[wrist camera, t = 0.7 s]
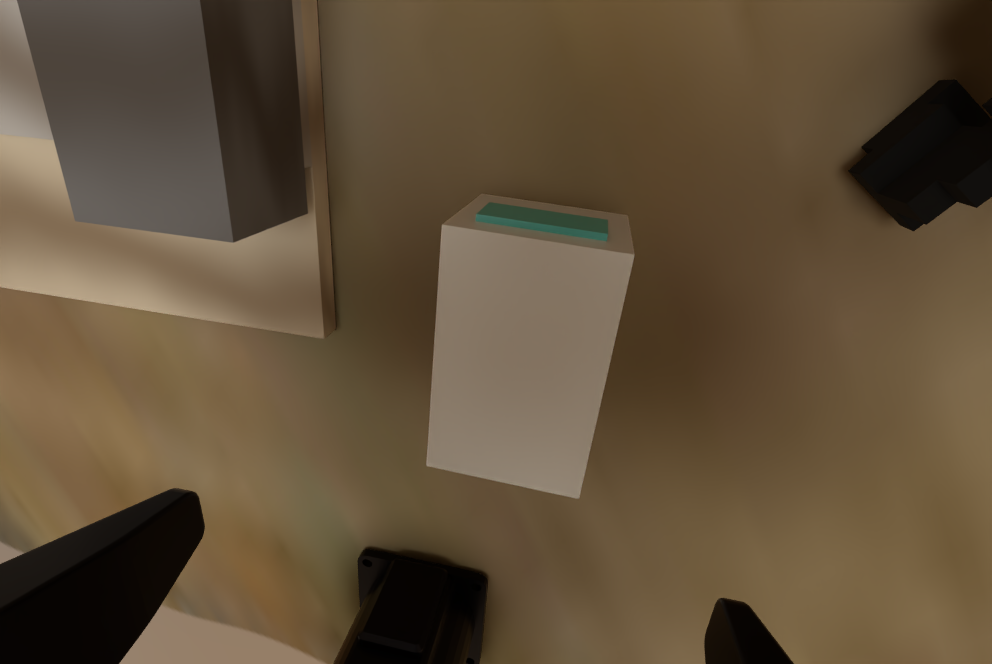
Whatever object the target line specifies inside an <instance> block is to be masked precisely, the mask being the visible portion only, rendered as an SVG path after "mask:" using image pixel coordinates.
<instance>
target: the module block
mask: <svg viewBox="0 0 992 664" xmlns="http://www.w3.org/2000/svg"><path fill="white" fill-rule="evenodd" d="M634 256H635V253H634V248H633V242H632V236H631V230H630V225H629V219H628V215H624V214H617V213H611V212H604V211H597V210H590V209H584V208H577V207H570V206H563V205H556V204H550V203H543V202H536V201H529V200H523V199H516V198H509V197H502V196H495V195H489V194H482V193H481V194H480V195H479V196H478V197H476V198H475V199H474V200H473V201H471V202H470V203H469V204H467V205H466V206H465V207H464V208H462V209H461V210H460V211H458V212H457V213H456V214H455V215H453V216H452V217H451V218H450V219H448V220H447V221H446V222H444V223H443V224H442V230H441V245H440V261H439V276H438V292H437V308H436V323H435V339H434V354H433V370H432V385H431V401H430V417H429V432H428V448H427V463H426V466H429V467H434V468H438V469H443V470H447V471H452V472H457V473H461V474H466V475H470V476H475V477H480V478H484V479H489V480H493V481H498V482H503V483H507V484H512V485H516V486H521V487H526V488H530V489H535V490H539V491H544V492H549V493H553V494H558V495H562V496H567V497H572V498H576V499H579V496H580V492H581V488H582V483H583V479H584V474H585V470H586V466H587V461H588V457H589V453H590V448H591V444H592V439H593V435H594V431H595V426H596V422H597V418H598V413H599V409H600V404H601V400H602V396H603V391H604V387H605V383H606V378H607V374H608V369H609V365H610V361H611V356H612V352H613V348H614V343H615V339H616V334H617V330H618V326H619V321H620V317H621V313H622V308H623V304H624V299H625V295H626V291H627V286H628V282H629V278H630V273H631V269H632V264H633V260H634Z"/></svg>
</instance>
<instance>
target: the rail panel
mask: <svg viewBox="0 0 992 664" xmlns="http://www.w3.org/2000/svg"><path fill="white" fill-rule="evenodd" d="M0 287H3V288H9V289H15V290H22V291H28V292H34V293H40V294H47V295H53V296H59V297H65V298H72V299H78V300H84V301H90V302H97V303H103V304H109V305H115V306H122V307H128V308H134V309H140V310H147V311H153V312H159V313H165V314H171V315H178V316H184V317H190V318H196V319H203V320H209V321H215V322H221V323H228V324H234V325H240V326H246V327H253V328H259V329H265V330H271V331H278V332H284V333H290V334H296V335H303V336H309V337H315V338H321V339H325V338H326V337H327V336H328V335H329V334H331V333H332V332H333V331H334V330H335V329H336V320H335V303H334V286H333V269H332V251H331V234H330V217H329V200H328V183H327V165H326V148H325V131H324V114H323V96H322V79H321V62H320V45H319V28H318V10H317V0H0Z"/></svg>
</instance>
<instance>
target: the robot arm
mask: <svg viewBox="0 0 992 664" xmlns="http://www.w3.org/2000/svg"><path fill="white" fill-rule="evenodd" d="M204 529H205V524H204V519H203V514H202V509H201V505H200V500H199V496H198V495H197V494H196V493H195V492H193V491H189V490H184V489H178V488H174V489H170V490H167V491H165V492H163V493H160V494H158V495H156V496H154V497H151V498H149V499H147V500H145V501H142V502H140V503H138V504H135V505H133V506H131V507H129V508H126V509H124V510H122V511H120V512H117V513H115V514H113V515H111V516H108V517H106V518H104V519H101V520H99V521H97V522H95V523H92V524H90V525H88V526H86V527H83V528H81V529H79V530H77V531H74V532H72V533H70V534H67V535H65V536H63V537H61V538H58V539H56V540H54V541H52V542H49V543H47V544H45V545H42V546H40V547H38V548H36V549H33V550H31V551H29V552H27V553H24V554H22V555H20V556H17V557H15V558H13V559H11V560H8V561H6V562H4V563H2V564H0V664H119V663H120V662H121V660H122V659H123V658H124V656H125V655H126V653H127V652H128V651H129V649H130V648H131V647H132V646H133V644H134V643H135V641H136V640H137V639H138V638H139V636H140V635H141V633H142V632H143V631H144V629H145V628H146V626H147V625H148V623H149V622H150V621H151V619H152V618H153V616H154V615H155V613H156V612H157V610H158V609H159V607H160V606H161V604H162V602H163V601H164V599H165V597H166V596H167V594H168V593H169V591H170V589H171V588H172V586H173V585H174V583H175V581H176V580H177V578H178V577H179V575H180V573H181V572H182V570H183V569H184V567H185V565H186V564H187V562H188V560H189V559H190V557H191V556H192V554H193V552H194V551H195V549H196V548H197V546H198V544H199V543H200V541H201V539H202V537H203V534H204ZM358 578H359V598H360V610H359V612H358V614H357V616H356V618H355V620H354V622H353V624H352V626H351V628H350V630H349V632H348V634H347V637H346V639H345V641H344V643H343V645H342V647H341V649H340V651H339V653H338V655H337V657H336V659H335V661H334V663H333V664H479V662H480V658H481V650H482V640H483V630H484V619H485V609H486V599H487V589H488V580H487V578H486V577H485V576H484V575H482V574H480V573H476V572H471V571H467V570H462V569H458V568H453V567H448V566H444V565H439V564H435V563H430V562H425V561H421V560H416V559H412V558H407V557H403V556H398V555H393V554H389V553H384V552H380V551H375V550H370V549H366V550H363V551H362V552H361V554H360V556H359V558H358ZM704 647H705V661H706V664H794V663H793V662H792V661H791V659H790V658H789V657H788V655H787V654H786V653H785V651H784V650H783V649H782V648H781V646H780V645H779V644H778V642H777V641H776V640H775V638H774V637H773V636H772V635H771V633H770V632H769V631H768V629H767V628H766V627H765V625H764V624H763V623H762V622H761V620H760V619H759V618H758V616H757V615H756V614H755V612H754V611H753V610H752V609H751V607H750V606H749V605H747V604H746V603H744V602H741V601H736V600H731V599H726V598H720V599H718V600H717V602H716V604H715V607H714V610H713V612H712V615H711V618H710V621H709V624H708V627H707V630H706V634H705V645H704Z"/></svg>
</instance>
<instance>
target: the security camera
mask: <svg viewBox="0 0 992 664" xmlns="http://www.w3.org/2000/svg"><path fill="white" fill-rule="evenodd" d="M982 106H983V107H984V108H985V109H986V110H987V111H988V112H989V114H990V115H991V116H992V98H991V99H989V100H988V101H987V102H986V103H984V104H983V105H982ZM862 148H863V149H864V150H865V151H866V152H867V155H866V156H865V157H864V158H863V159H861V160H860V161H859V162H858V163H857V164H855V165H854V166H853V167H852V168H851V169H850V170H848V171H849V172H850V173H851V174H852V175H853V176H854V177H855V178H856V180H857V181H858V182H859V183H860V184H861V185H862V186H863V187H864V188H865V189H866V190H867V191H868V192H869V193H870V194H871V195H872V196H873V197H874V198H875V199H876V200H877V201H878V203H879V204H880V205H881V206H882V207H883V208H884V209H885V210H886V211H887V212H888V213H889V214H890V215H891V216H892V217H893V218H894V219H895V220H896V221H897V222H898V223H899V225H901V226H903V227H905V228H908V229H910V230H912V231H915V230H916V229H918V228H919V227H920V226H922V225H923V224H928V223H929V222H930V221H932V220H933V219H934V218H936V217H937V216H939V215H940V214H941V213H943V212H944V211H945V210H947V209H948V208H949V207H951V206H952V205H953V204H955V203H956V202H960V203H963V204H966V205H970V206H973V207H976V208H977V207H978V206H980V205H981V204H982V203H984V202H985V201H987V200H988V199H989V198H991V197H992V119H991V118H990V117H989V116H988V115H987V114H986V113H985V112H984V111H983V109H982V108H981V107H980V106H979V105H978V104H977V103H976V102H975V100H974V99H973V98H972V97H971V96H970V95H969V94H968V92H967V91H966V90H965V89H964V88H963V87H962V86H961V85H960V83H959V82H958V81H957V80H939V81H938V82H937V83H936V84H935V85H934V86H932V87H931V88H930V89H929V90H928V91H927V92H925V93H924V94H923V95H922V96H921V97H919V98H918V99H917V100H916V101H915V102H914V103H912V104H911V105H910V106H909V107H908V108H907V109H905V110H904V111H903V112H902V113H901V114H900V115H898V116H897V117H896V118H895V119H894V120H893V121H891V122H890V123H889V124H888V125H887V126H886V127H884V128H883V129H882V130H881V131H880V132H879V133H877V134H876V135H875V136H874V137H873V138H871V139H870V140H869V141H868V142H867V143H866V144H864V145H863V146H862Z"/></svg>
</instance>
